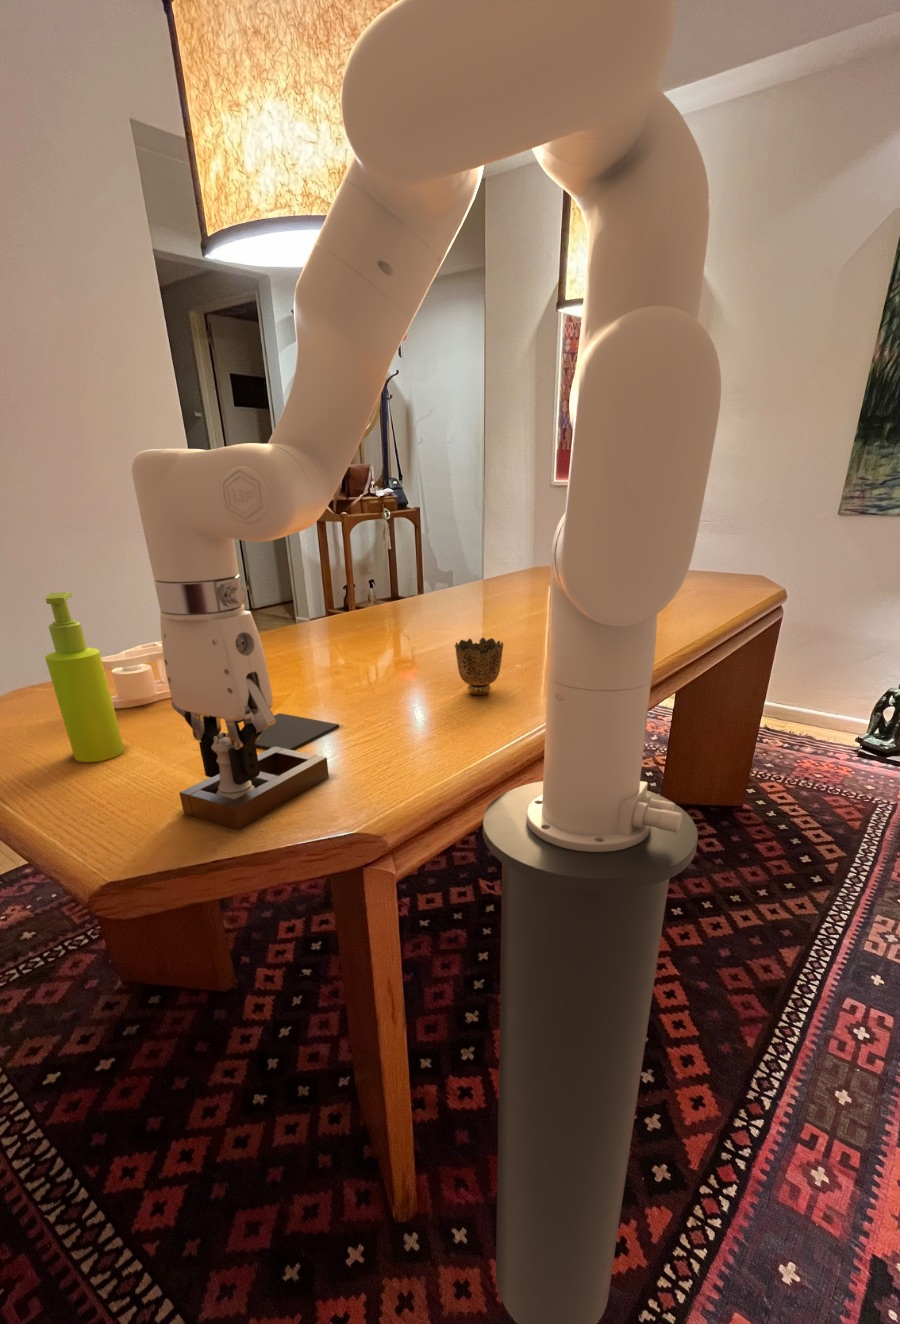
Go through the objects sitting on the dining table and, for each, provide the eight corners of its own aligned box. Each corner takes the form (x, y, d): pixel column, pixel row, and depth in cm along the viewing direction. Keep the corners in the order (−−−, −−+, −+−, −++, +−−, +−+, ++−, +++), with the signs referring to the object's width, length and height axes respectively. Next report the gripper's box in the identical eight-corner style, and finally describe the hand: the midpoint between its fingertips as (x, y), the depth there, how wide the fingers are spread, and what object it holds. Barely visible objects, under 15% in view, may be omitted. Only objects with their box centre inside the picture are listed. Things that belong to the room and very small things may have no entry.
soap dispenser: (126, 740, 92) (88, 587, 83) (122, 758, 86) (80, 596, 77) (79, 745, 90) (35, 591, 81) (71, 765, 84) (22, 600, 75)
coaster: (339, 727, 94) (339, 724, 94) (286, 753, 86) (285, 750, 86) (280, 715, 99) (279, 713, 99) (224, 740, 91) (223, 737, 91)
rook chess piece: (250, 793, 75) (239, 726, 72) (266, 807, 72) (255, 737, 69) (211, 804, 73) (197, 735, 70) (225, 819, 70) (211, 748, 66)
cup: (458, 701, 104) (457, 649, 100) (453, 687, 110) (452, 638, 107) (505, 699, 104) (506, 647, 101) (499, 685, 111) (499, 636, 107)
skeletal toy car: (116, 715, 101) (104, 667, 98) (94, 698, 109) (83, 653, 105) (240, 687, 113) (233, 643, 109) (213, 674, 120) (206, 633, 117)
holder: (329, 777, 79) (326, 757, 78) (238, 830, 68) (234, 808, 67) (277, 765, 83) (274, 746, 82) (183, 813, 71) (178, 792, 70)
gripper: (295, 596, 62) (317, 777, 70) (173, 586, 70) (205, 751, 78) (235, 611, 56) (266, 806, 65) (108, 598, 64) (151, 774, 72)
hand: (232, 774), depth 71 cm, fingers closed on rook chess piece, 3 cm apart
